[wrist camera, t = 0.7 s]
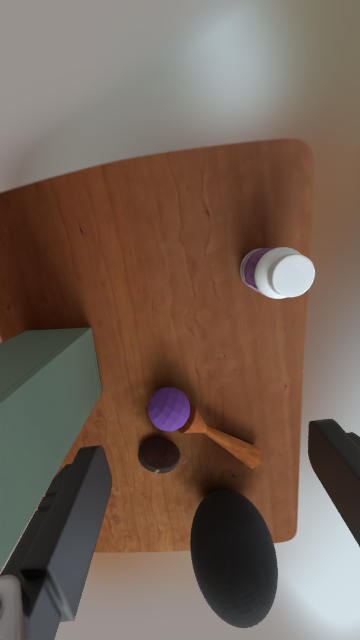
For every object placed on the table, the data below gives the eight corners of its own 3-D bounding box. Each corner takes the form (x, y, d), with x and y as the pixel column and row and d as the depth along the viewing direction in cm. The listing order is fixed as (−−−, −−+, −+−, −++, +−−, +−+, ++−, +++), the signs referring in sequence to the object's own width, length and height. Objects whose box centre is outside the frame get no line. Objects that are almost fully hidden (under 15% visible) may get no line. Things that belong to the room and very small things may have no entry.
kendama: (244, 484, 36) (136, 427, 31) (237, 448, 41) (144, 394, 36) (273, 468, 34) (161, 403, 29) (262, 431, 39) (166, 371, 34)
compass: (137, 463, 40) (128, 507, 33) (143, 426, 38) (135, 465, 31) (183, 470, 40) (183, 515, 33) (191, 433, 38) (194, 474, 31)
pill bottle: (239, 291, 31) (263, 307, 22) (238, 250, 30) (263, 249, 21) (279, 287, 31) (321, 301, 22) (280, 246, 30) (325, 243, 21)
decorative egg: (196, 465, 40) (204, 584, 26) (265, 475, 41) (311, 597, 26) (183, 515, 44) (184, 646, 29) (247, 524, 44) (278, 656, 30)
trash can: (25, 330, 33) (-274, 480, 11) (91, 327, 33) (-85, 473, 11) (42, 394, 36) (-170, 609, 14) (102, 391, 36) (-20, 606, 14)
